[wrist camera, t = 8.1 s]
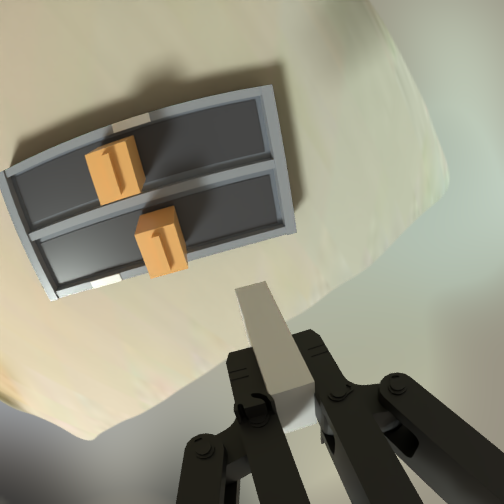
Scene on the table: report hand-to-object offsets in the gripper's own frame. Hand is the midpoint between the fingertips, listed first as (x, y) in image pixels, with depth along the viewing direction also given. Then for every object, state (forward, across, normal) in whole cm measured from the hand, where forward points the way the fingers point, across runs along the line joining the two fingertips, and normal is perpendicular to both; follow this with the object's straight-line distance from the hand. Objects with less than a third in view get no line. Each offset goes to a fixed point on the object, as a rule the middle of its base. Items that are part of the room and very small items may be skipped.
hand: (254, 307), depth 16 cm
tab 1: (+15, -7, +7) cm, 18 cm away
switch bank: (+17, -6, +3) cm, 19 cm away
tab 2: (+15, -5, 0) cm, 16 cm away
